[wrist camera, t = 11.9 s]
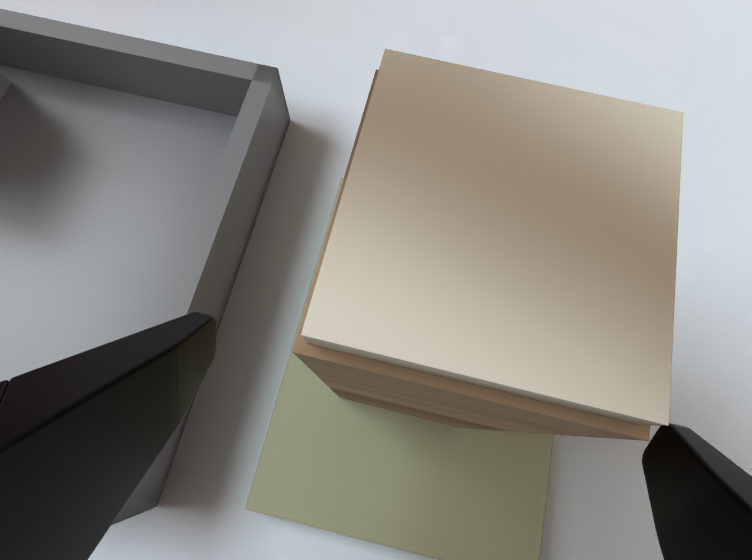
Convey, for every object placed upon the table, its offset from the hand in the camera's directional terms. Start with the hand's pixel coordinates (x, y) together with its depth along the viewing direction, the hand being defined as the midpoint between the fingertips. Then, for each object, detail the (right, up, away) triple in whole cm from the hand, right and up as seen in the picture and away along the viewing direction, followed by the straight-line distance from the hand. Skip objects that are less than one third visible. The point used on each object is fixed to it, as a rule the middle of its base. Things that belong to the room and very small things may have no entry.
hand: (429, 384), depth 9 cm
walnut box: (0, -1, +8) cm, 8 cm away
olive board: (+1, -1, +9) cm, 9 cm away
